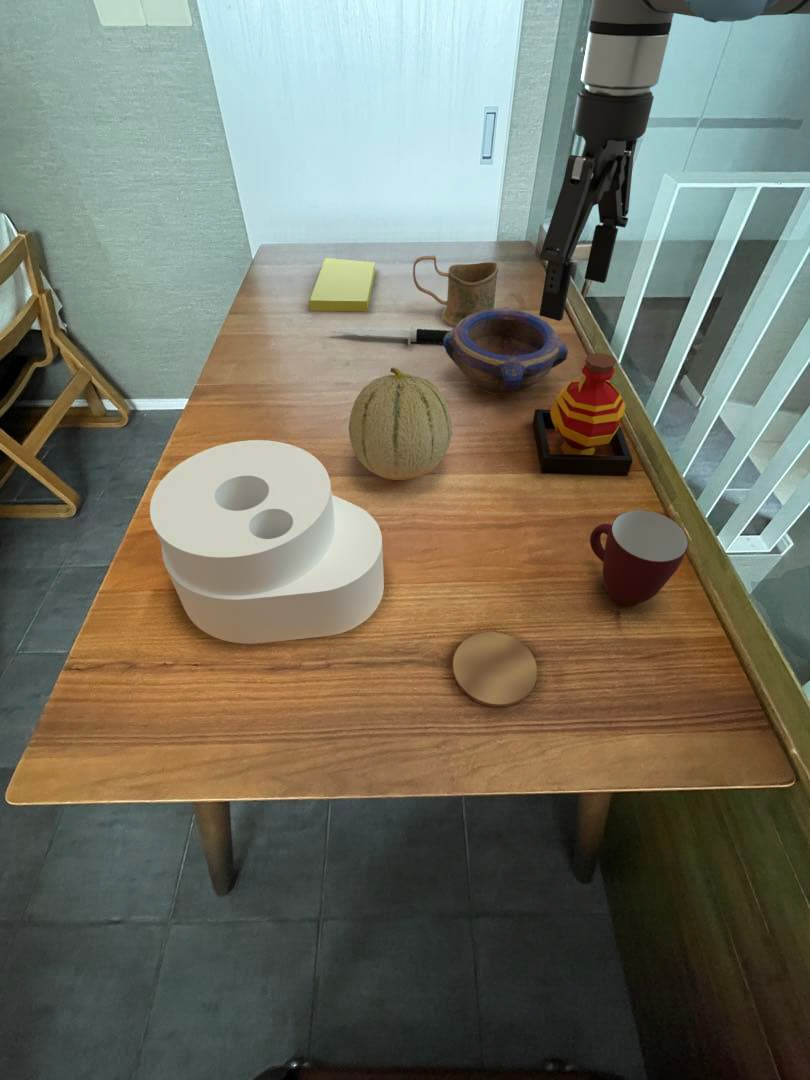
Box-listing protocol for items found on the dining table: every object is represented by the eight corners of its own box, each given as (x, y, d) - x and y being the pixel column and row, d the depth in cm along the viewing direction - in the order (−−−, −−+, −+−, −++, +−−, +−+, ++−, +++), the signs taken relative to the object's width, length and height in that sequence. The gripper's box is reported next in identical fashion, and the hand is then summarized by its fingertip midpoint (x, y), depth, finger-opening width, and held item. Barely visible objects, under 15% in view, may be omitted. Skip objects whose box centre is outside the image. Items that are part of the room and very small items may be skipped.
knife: (461, 325, 114) (460, 337, 111) (460, 337, 116) (459, 349, 113) (331, 318, 116) (326, 330, 113) (332, 330, 118) (327, 342, 115)
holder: (627, 476, 86) (633, 460, 84) (541, 473, 86) (544, 457, 84) (610, 426, 95) (615, 411, 92) (532, 424, 95) (535, 409, 93)
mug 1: (413, 304, 127) (414, 245, 118) (495, 305, 127) (501, 246, 118) (412, 328, 119) (412, 267, 110) (498, 330, 118) (505, 268, 110)
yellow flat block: (367, 311, 125) (375, 267, 141) (366, 301, 123) (375, 258, 140) (310, 310, 125) (326, 267, 142) (309, 300, 123) (325, 257, 140)
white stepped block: (359, 667, 63) (350, 585, 53) (149, 626, 67) (105, 543, 57) (400, 539, 77) (399, 455, 67) (224, 511, 81) (199, 428, 71)
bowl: (497, 422, 95) (505, 367, 88) (430, 377, 106) (431, 323, 99) (573, 388, 103) (585, 334, 96) (503, 348, 113) (509, 296, 106)
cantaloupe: (385, 515, 80) (381, 422, 69) (333, 459, 89) (323, 370, 78) (470, 476, 86) (479, 386, 75) (414, 428, 94) (415, 341, 84)
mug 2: (560, 580, 72) (577, 521, 65) (598, 548, 76) (618, 489, 68) (635, 632, 66) (663, 574, 59) (672, 595, 70) (703, 536, 63)
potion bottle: (572, 422, 96) (593, 335, 85) (625, 451, 90) (655, 362, 79) (529, 446, 91) (545, 357, 80) (582, 479, 85) (607, 388, 75)
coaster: (552, 664, 63) (553, 661, 63) (506, 724, 59) (507, 721, 58) (483, 621, 67) (483, 618, 67) (435, 673, 63) (435, 670, 62)
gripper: (625, 69, 68) (585, 260, 83) (526, 103, 53) (500, 326, 69) (691, 75, 65) (637, 272, 80) (605, 112, 50) (559, 344, 66)
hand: (574, 297), depth 74 cm, fingers open, 13 cm apart
